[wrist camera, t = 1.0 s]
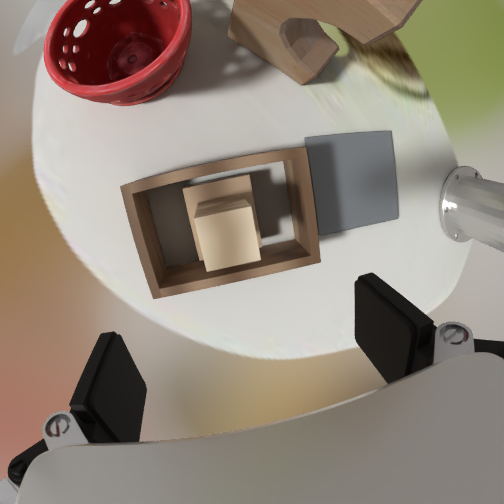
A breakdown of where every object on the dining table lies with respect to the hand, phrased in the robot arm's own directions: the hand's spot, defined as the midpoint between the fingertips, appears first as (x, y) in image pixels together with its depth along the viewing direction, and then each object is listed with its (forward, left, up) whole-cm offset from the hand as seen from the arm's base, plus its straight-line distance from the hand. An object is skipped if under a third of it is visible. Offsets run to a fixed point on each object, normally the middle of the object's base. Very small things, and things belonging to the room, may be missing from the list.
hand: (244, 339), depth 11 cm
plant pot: (+6, -20, -24) cm, 32 cm away
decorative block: (-10, -19, -24) cm, 33 cm away
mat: (-17, -1, -24) cm, 30 cm away
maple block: (0, 0, -21) cm, 21 cm away
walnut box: (0, 0, -24) cm, 24 cm away
